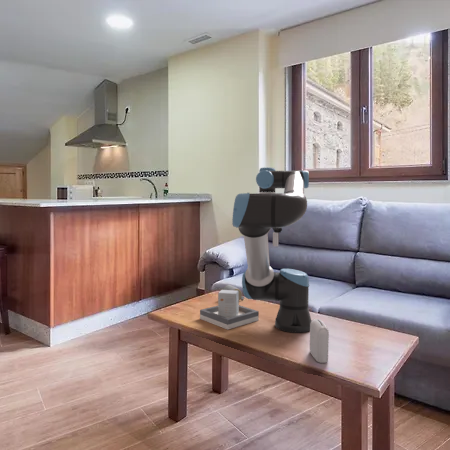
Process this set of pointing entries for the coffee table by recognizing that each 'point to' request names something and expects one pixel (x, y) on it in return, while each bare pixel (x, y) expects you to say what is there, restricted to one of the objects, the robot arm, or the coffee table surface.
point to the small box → (228, 303)
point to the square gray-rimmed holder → (242, 318)
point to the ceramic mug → (230, 287)
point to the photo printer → (319, 340)
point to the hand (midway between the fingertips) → (266, 247)
